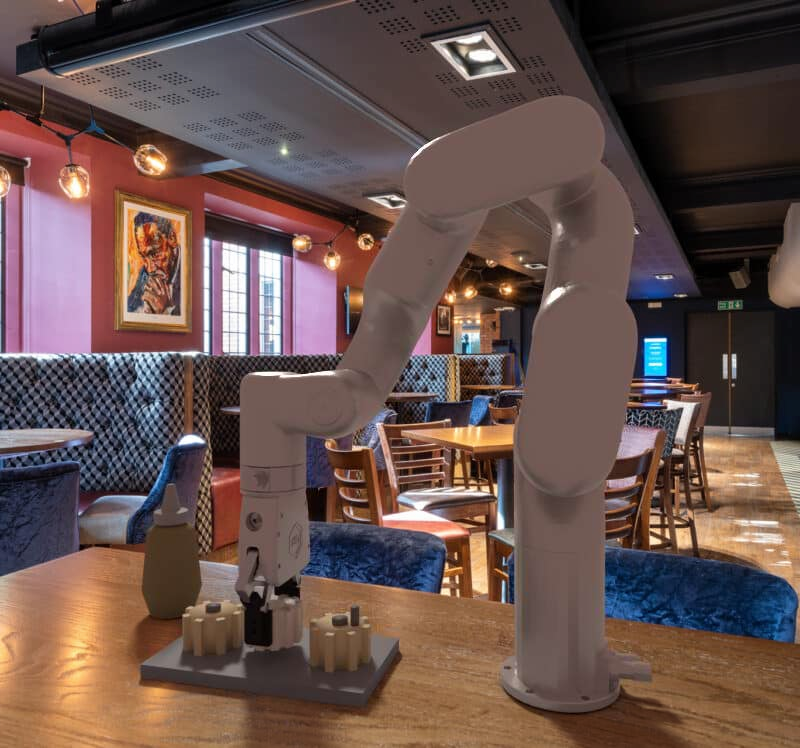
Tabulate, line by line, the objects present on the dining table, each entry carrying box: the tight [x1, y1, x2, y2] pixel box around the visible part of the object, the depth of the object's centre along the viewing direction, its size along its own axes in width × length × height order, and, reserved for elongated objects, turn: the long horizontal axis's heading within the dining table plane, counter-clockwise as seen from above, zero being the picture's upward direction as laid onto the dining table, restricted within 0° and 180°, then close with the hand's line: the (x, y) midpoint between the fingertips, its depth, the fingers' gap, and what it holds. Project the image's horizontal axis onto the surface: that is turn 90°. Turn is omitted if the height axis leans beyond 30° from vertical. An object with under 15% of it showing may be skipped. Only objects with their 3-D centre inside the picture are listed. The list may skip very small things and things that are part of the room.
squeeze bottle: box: [141, 483, 203, 620], centre depth 94 cm, size 8×8×18 cm
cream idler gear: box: [243, 593, 304, 651], centre depth 78 cm, size 7×7×4 cm
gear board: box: [139, 599, 400, 709], centre depth 78 cm, size 26×14×8 cm, turn 75°
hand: (273, 630), depth 78 cm, fingers closed on cream idler gear, 6 cm apart
